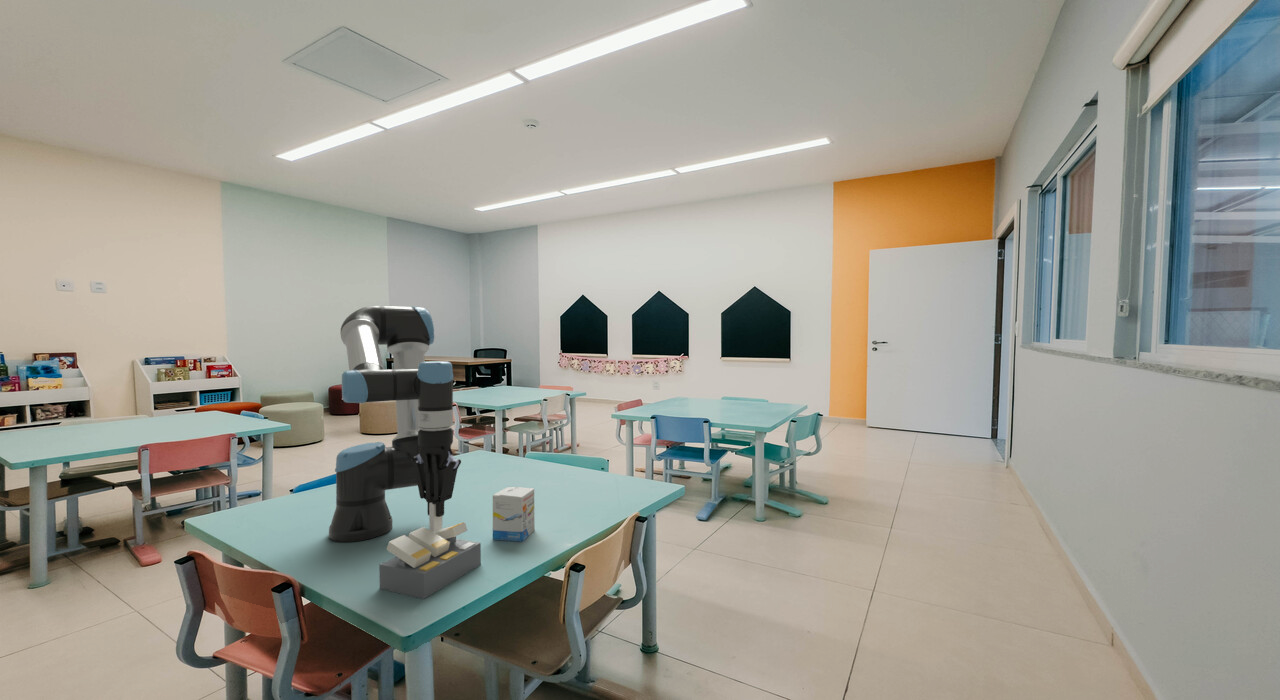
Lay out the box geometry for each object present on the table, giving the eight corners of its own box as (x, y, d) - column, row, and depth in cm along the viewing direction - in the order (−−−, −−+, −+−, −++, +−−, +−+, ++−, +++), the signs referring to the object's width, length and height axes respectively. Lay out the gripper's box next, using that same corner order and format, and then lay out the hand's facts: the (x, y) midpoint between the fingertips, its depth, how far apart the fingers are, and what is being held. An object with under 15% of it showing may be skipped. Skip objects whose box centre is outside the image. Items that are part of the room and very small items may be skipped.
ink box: (522, 542, 130) (521, 496, 130) (491, 539, 132) (491, 494, 132) (535, 530, 139) (535, 487, 139) (506, 528, 140) (506, 485, 140)
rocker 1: (386, 549, 106) (388, 540, 106) (402, 542, 110) (404, 534, 110) (414, 568, 103) (416, 559, 103) (429, 560, 107) (431, 551, 107)
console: (379, 588, 106) (379, 559, 106) (440, 556, 121) (439, 531, 121) (424, 598, 101) (423, 568, 101) (480, 564, 117) (480, 538, 117)
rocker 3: (428, 543, 116) (426, 534, 116) (441, 537, 120) (439, 528, 120) (455, 536, 113) (452, 527, 114) (467, 530, 117) (464, 521, 117)
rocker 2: (407, 540, 111) (409, 532, 111) (421, 534, 115) (423, 526, 115) (434, 557, 108) (436, 548, 108) (448, 550, 112) (450, 541, 112)
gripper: (401, 428, 117) (402, 531, 117) (445, 432, 112) (446, 539, 112) (426, 424, 124) (426, 521, 124) (469, 427, 119) (469, 528, 119)
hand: (435, 529), depth 118 cm, fingers closed
